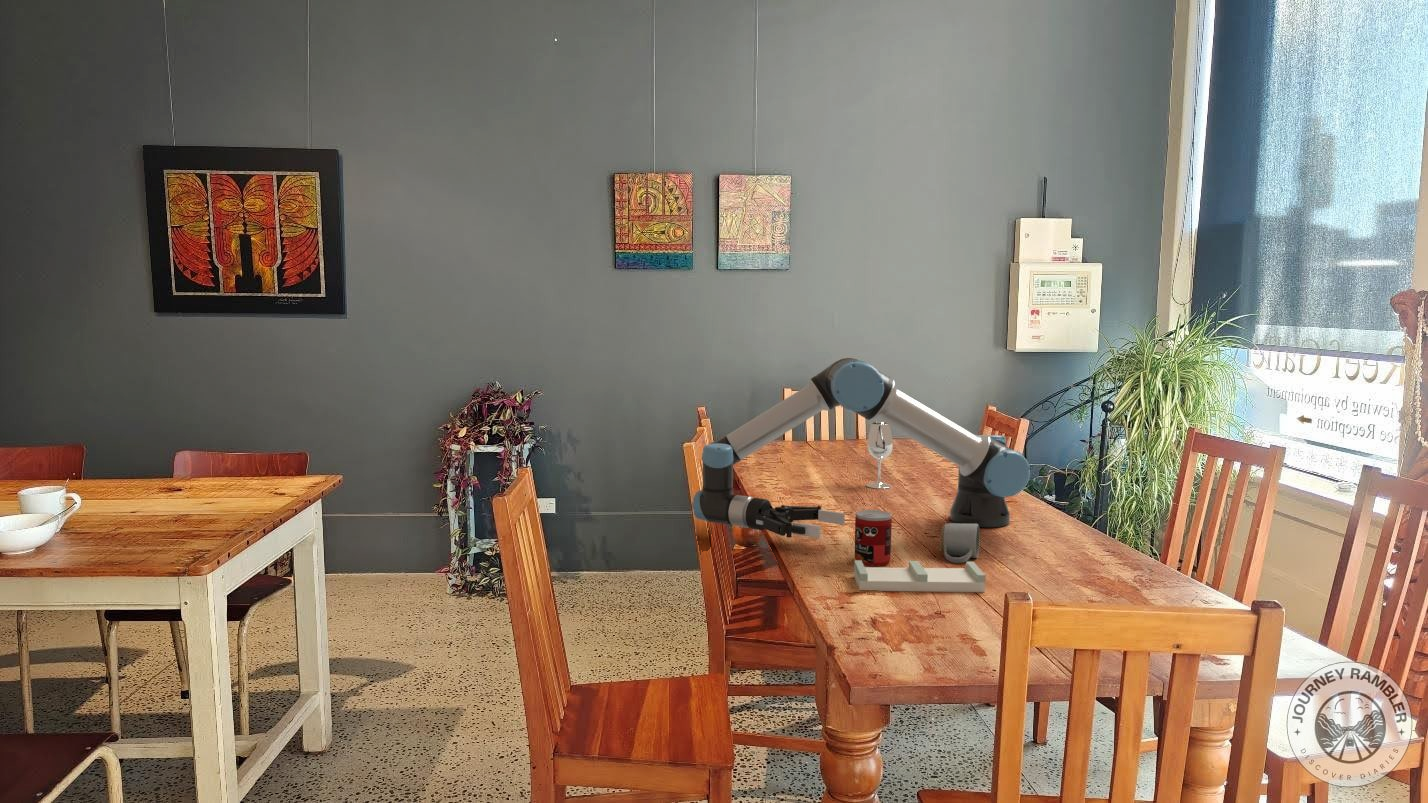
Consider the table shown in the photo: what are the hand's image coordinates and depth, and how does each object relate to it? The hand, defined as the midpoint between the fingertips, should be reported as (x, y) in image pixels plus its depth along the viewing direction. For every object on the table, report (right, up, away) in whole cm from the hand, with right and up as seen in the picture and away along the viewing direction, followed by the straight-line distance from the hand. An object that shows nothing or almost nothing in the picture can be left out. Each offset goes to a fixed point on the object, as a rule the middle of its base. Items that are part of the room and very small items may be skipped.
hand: (832, 525), depth 197 cm
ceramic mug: (+29, -7, -1) cm, 30 cm away
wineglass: (+25, +2, +73) cm, 77 cm away
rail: (+15, -9, -19) cm, 26 cm away
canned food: (+8, -8, -4) cm, 12 cm away
